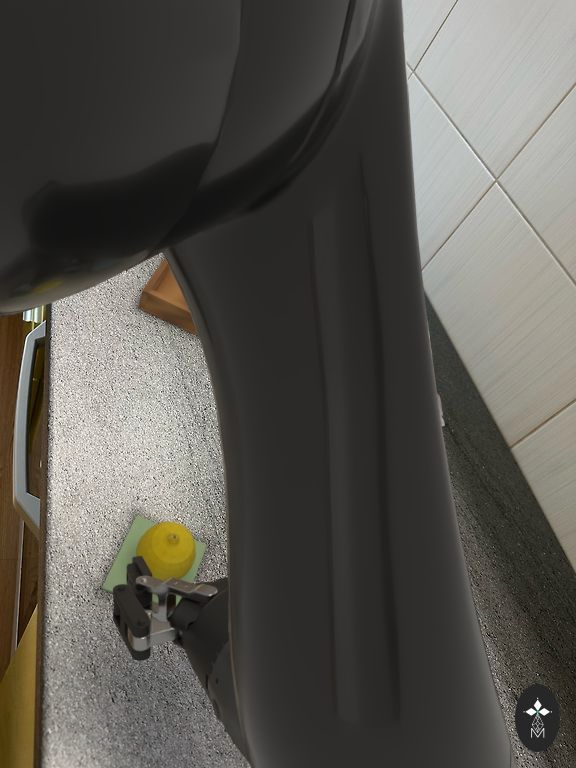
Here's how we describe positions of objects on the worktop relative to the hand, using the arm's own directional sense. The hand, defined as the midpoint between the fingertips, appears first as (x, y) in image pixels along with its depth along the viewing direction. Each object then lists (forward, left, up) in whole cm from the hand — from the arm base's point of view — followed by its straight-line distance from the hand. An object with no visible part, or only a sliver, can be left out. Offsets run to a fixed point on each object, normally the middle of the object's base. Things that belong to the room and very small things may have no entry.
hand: (185, 557), depth 49 cm
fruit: (-1, +2, -10) cm, 10 cm away
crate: (-11, +40, -10) cm, 43 cm away
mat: (-2, +2, -10) cm, 10 cm away
